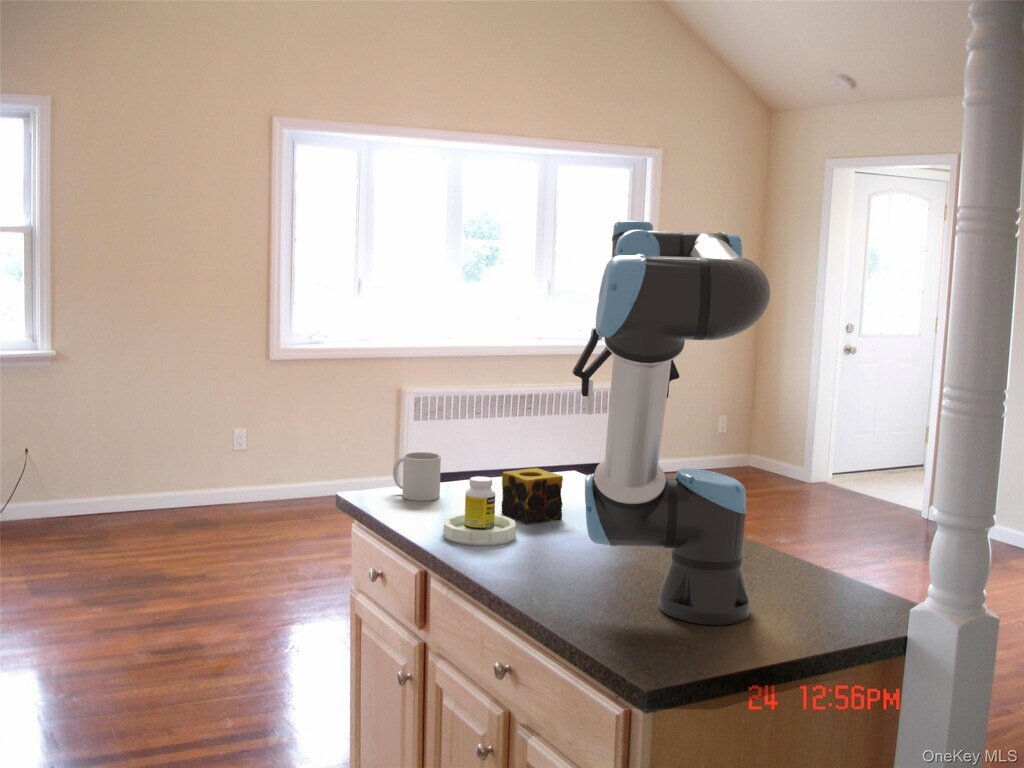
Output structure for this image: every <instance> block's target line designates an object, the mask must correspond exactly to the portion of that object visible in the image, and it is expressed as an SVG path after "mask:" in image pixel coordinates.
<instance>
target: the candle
mask: <svg viewBox="0 0 1024 768" xmlns="http://www.w3.org/2000/svg"><path fill="white" fill-rule="evenodd" d="M501 477H502V478H501V489H502V494H501V495H502V501H501V515H502V516H505V517H508V518H510V519H512V520H515V521H517V522H520V523H522V524H525V525H532V524H537V523H544V522H548V521H557V520H562V519H563V512H562V511H563V510H562V509H563V501H562V500H563V499H562V488H563V480H564V477H563V475H561V474H557V473H554V472H551V471H548V470H544V469H541V468H537V467H534V468H524V469H516V470H508V471H503V472H502V475H501Z"/></svg>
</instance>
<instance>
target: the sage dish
mask: <svg viewBox="0 0 1024 768" xmlns="http://www.w3.org/2000/svg"><path fill="white" fill-rule="evenodd" d="M464 525H465V513H459V514H452V515H450V516H448V517H446V518H444V519H443V529H442V533H443V534H442V535H443V538H444V539H445V540H447V541H449V540H450V541H449V542H452V543H456V544H460V545H464V544H465V546H473V547H474V546H475V547H491V546H499V545H500V546H501V545H505V544H508V543H510V542H513V541H514V540H515V538H516V530H517V529H516V528H517V525H516V520H515V519H512V518H510V517H508V516H505V515H502V514H501V515H500V514H495V515H494V530H490V531H478V530H467V529H465V528H464Z"/></svg>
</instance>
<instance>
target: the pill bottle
mask: <svg viewBox="0 0 1024 768" xmlns="http://www.w3.org/2000/svg"><path fill="white" fill-rule="evenodd" d="M469 486H470V487H469V488H467V489H466V491H465V497H464V498H465V503H464V504H465V505H464V514H465V525H464V528H465V529H467V530H478V531H490V530H494V515H496V512H495V510H496V509H495V507H496V491H495V490H494V489H493V488H492V486H493V479H492V478H491V477H488V476H479V475H477V476H472V477H470V478H469Z"/></svg>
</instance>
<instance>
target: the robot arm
mask: <svg viewBox="0 0 1024 768" xmlns="http://www.w3.org/2000/svg"><path fill="white" fill-rule="evenodd" d="M612 231H613V233H612V237H611V242H612V243H611V244H612V245H611V246H612V249H611V252H612V253H611V259H609V261H608V262H607V264H606V265H605V268H604V270H603V271H604V272H603V275H602V278H601V283H600V287H599V292H598V293H599V294H598V302H597V307H596V317H595V327H592V328H591V332H590V339H589V340H588V342H587V343H586V345H585V348H584V349H583V351H582V353H581V355H579V356H580V357H579V358H578V360H577V362H576V364H575V365H574V367H573V369H572V374H573V375H574V376H575V377H578V378H579V379H581V388H580V389H581V390H580V393H581V396H582V397H586V400H585V402H586V403H585V413H586V414H587V415H593V412H592V411H593V397H594V396H593V395H594V392H593V391H594V380H593V379H592V378H591V377H592V376H593V375H594V374H595V373H596V372H597V371H598V369H599V368H600V367H602V365H603V364H604V363H605V362H606V360H608V358H609V357H610V356H612V355H613V356H612V368H611V381H610V393H609V394H610V395H609V402H608V403H609V405H608V418H607V429H606V442H605V451H604V452H605V454H604V459H602V460H601V461H600V462H599V464H597V466H596V468H595V470H594V472H593V473H591V474H587V475H586V476H585V479H584V503H585V519H586V528H587V529H586V530H587V536H588V537H589V539H590V540H591V542H593V543H594V544H597V545H606V546H610V547H634V548H635V547H637V548H638V547H640V548H641V547H642V548H664V549H671V559H670V560H671V561H670V564H669V567H668V569H667V572H666V573H665V577H664V578H663V582H662V583H661V587H660V589H659V592H658V603H657V605H658V609H659V610H660V611H661V612H662V613H664V614H666V615H668V616H669V617H671V618H674V619H677V620H678V621H679V620H680V621H683V622H687V623H691V624H698V625H706V626H707V625H709V626H723V625H734V624H739V623H741V622H743V621H745V620H747V619H748V618H749V616H750V609H751V608H750V607H751V600H750V596H749V591H748V588H747V583H746V581H745V576H744V573H743V556H744V555H743V553H744V552H743V551H744V540H745V538H744V537H745V524H746V523H745V522H746V514H747V513H748V510H747V491H746V488H745V486H744V484H743V483H741V482H740V481H739V480H737V479H735V478H734V477H731V476H729V475H726V474H722V473H719V472H715V471H710V470H706V469H700V468H691V467H690V468H680V469H678V470H676V473H675V474H674V477H672V478H671V477H666V475H665V472H664V471H663V469H662V467H661V466H660V465H659V463H660V462H659V461H660V454H661V445H662V439H663V438H662V437H663V431H664V430H663V429H664V422H665V413H666V405H667V399H668V398H669V392H670V383H671V382H672V381H673V380H678V379H679V378H680V373H679V371H678V369H677V366H676V363H675V362H674V359H677V358H678V357H679V356H680V355H681V354H682V352H683V351H684V347H685V342H686V340H687V341H688V340H689V341H716V340H722V339H726V338H727V339H728V338H732V337H734V336H736V335H738V334H740V333H743V332H745V331H746V330H748V329H749V328H751V327H752V326H754V324H756V323H757V322H758V321H759V320H760V319H761V318H762V316H763V315H764V313H765V312H766V311H767V309H768V306H769V303H770V299H771V285H770V282H769V279H768V277H767V275H766V273H765V271H763V270H762V268H761V267H759V266H758V265H757V264H756V263H755V262H754V261H753V260H751V259H747V258H745V257H743V245H742V239H741V237H740V236H739V235H737V234H734V233H725V232H717V233H716V232H713V233H712V232H684V231H683V232H682V231H664V230H654V226H653V224H652V223H651V222H648V221H642V220H619V221H616V222H615V223H614V225H613V230H612ZM603 338H604V344H605V347H604V349H603V350H602V352H601V353H600V354H598V356H597V357H596V358H595V359H594V360H593V361H592V362H591V363H590V364H589V365H588V367H587V368H585V366H586V365H587V363H588V360H589V359H590V357H591V356H592V354H593V352H594V351H595V348H596V347H597V345H598V343H599V341H601V340H602V339H603ZM584 368H585V370H584ZM583 370H584V371H583Z"/></svg>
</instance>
